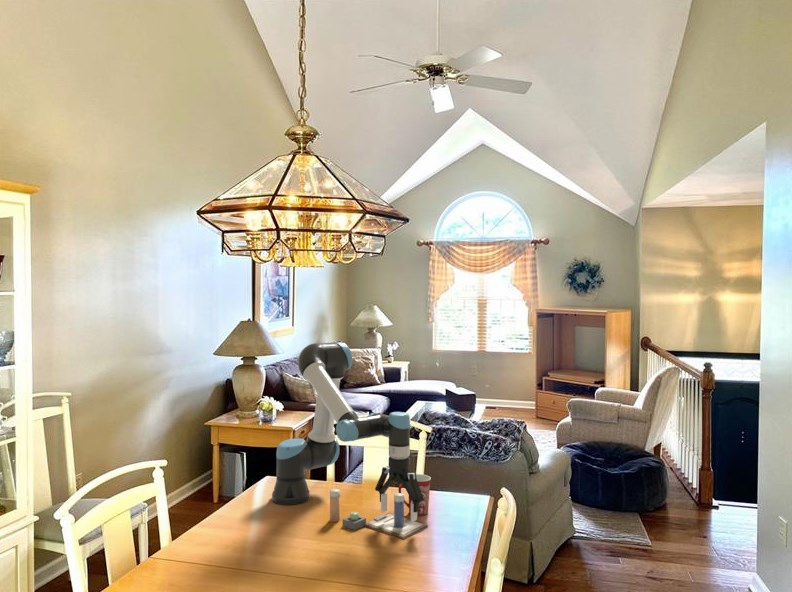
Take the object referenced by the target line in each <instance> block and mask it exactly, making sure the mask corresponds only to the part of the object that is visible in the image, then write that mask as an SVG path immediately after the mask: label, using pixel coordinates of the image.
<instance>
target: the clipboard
mask: <svg viewBox="0 0 792 592" xmlns="http://www.w3.org/2000/svg"><path fill="white" fill-rule="evenodd" d="M428 526H429V525H428V524H426V523H423V522H421V521H417V520H416V521H413V522H411V518H407V517H404V527H401V528H397V527H394V513H390V512H388V513H386V514H381V515H378V516H375V518H374V517H373V519H372V520H369V521H368V522H367V521H366V523H365V524H364V526H363V527H366V528H369V529H372V530H375V531H379V532H381V533H384V534H387V535H390V536H393V537H395V538H399V539H402V540H405V539H407V538H408V537H409V538H410V536H412V535H414V534H416V533H417V534H418V532H420V531H422V530H424V529H427V528H428Z"/></svg>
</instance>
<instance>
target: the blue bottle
mask: <svg viewBox="0 0 792 592" xmlns="http://www.w3.org/2000/svg"><path fill="white" fill-rule="evenodd" d="M404 500H405V494H404V493H403V492H401V493H399V492H397V493H394V494H393V503H394V505H393V506H394V507H393V514H394V527H397V528H401V527H404V518H405V503H404Z"/></svg>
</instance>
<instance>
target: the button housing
mask: <svg viewBox="0 0 792 592" xmlns="http://www.w3.org/2000/svg"><path fill="white" fill-rule="evenodd" d="M365 523H367V518H366V517H364V516H360V515H359V520H358V521H355V522H354V521H351V520H350V515H348V516H347V517H344V518H342V526H343V527H344V528H347V529H349V530H353V531H356V530H359V529H361V528H363V527H365V526H364V524H365Z"/></svg>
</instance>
